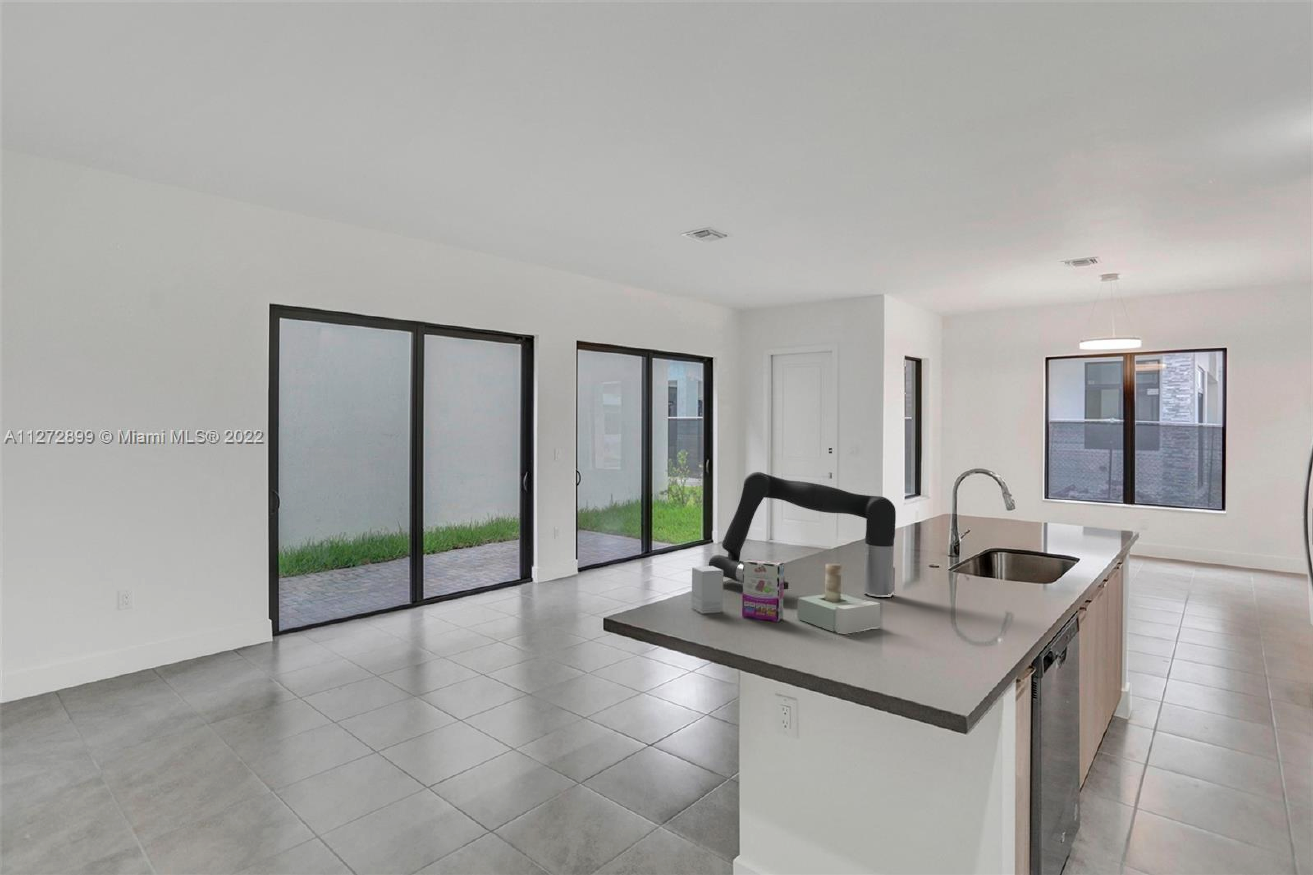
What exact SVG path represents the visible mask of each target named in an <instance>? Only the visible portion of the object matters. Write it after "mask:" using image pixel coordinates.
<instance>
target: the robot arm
mask: <svg viewBox="0 0 1313 875" xmlns="http://www.w3.org/2000/svg"><path fill="white" fill-rule="evenodd" d="M741 492H742V493H741V496H740V500H739V504H738V506H737V509H736V512H735V513H734V516H733V518H732V520H731V522H730V524H729V527H728V528H727V531H726V533H725V536H724V538H723V540H722V543H721V547H722V549H723V550H725V551H726V552H728V553H727V556H725V555H720V554H717V555H716V554H715V555H713V556H712V557H711V558H710V559H709V560H708V566H714V567H716V568H719V569H721V570H723V578H728V579H731V580H733V581H735V582H738V583H740V584H742V585H743V562H744V561H742V560H740V558H741V552H742V549H743V547H744V544H745V541H746V539H747V537H748V534H749V531H750V528H751V525H752V522H753V518H754V516H755V513H756V512H757V510H758V508H759V506H760V505H761V503H762V501H763V500H764V499H765V498H767V499H775V500H780V501H784V502H786V503H790V504H792V505H794V506H798V507H801V508H803V509H806V510H811V511H814V512H815V511H816V512H821V513H829V514H843V515H844V514H846V515H852V516H855V517H861V518H863V519H866V522H865V523H866V524H865V526H866V527H865V536H864V537H865V538H864V542H865V543H864V571H863V572H864V576H863V577H864V579H863V580H864V581H863V582H864V583H863V592H864V591H865V592H867V593H870V594H875V595H888V594H891V593H892V592H893V591H894V592H896V591H895V588H896V587H895V582H896V568H895V567H894V552H895V551H894V550H895V549H894V548H895V545H894V544H895V538H896V522H897V520H896V517H897V516H896V514H897V512H896V506H895V505H894V503H893V502H892V501H891V500H890V499H888V498H887V497H885V496H880V495H879V496H877V495H868V494H867V495H866V494H859V493H853V492H849V491H846V490H843V489H840V488H836V487H833V486H828V485H824V484H819V483H814V482H806V481H800V480H799V481H798V480H787V479H783V478H779V477H776V476H773V475H770V474H766V473H764V472H761V471H754V472H752V473H750V474H748V475H747V476H746V478H745V480H744V481H743V488H742V491H741ZM783 590H789V581H786V580H785V577H784V587H783Z"/></svg>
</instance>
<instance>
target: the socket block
mask: <svg viewBox="0 0 1313 875" xmlns="http://www.w3.org/2000/svg"><path fill="white" fill-rule="evenodd" d="M863 602H869V601H868V600H864V599H861V598H858V597H854V596H851V595H847V594H843V593H841V602H839V603H831V602H827V601H825V593H823V594H816V595H811V596H810V595H809V596H804V597H803V596H802V597H797V615H796V617H797V618H796V619H797V620H799V621H803V622H806V623H809V624H811V625H813V626H816V627H819V628H821V627H822V628H821V629H825V630H827V631H830V632H833V633H834V632H835V619H836V606H843V605H850V604H856V603H863Z"/></svg>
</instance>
